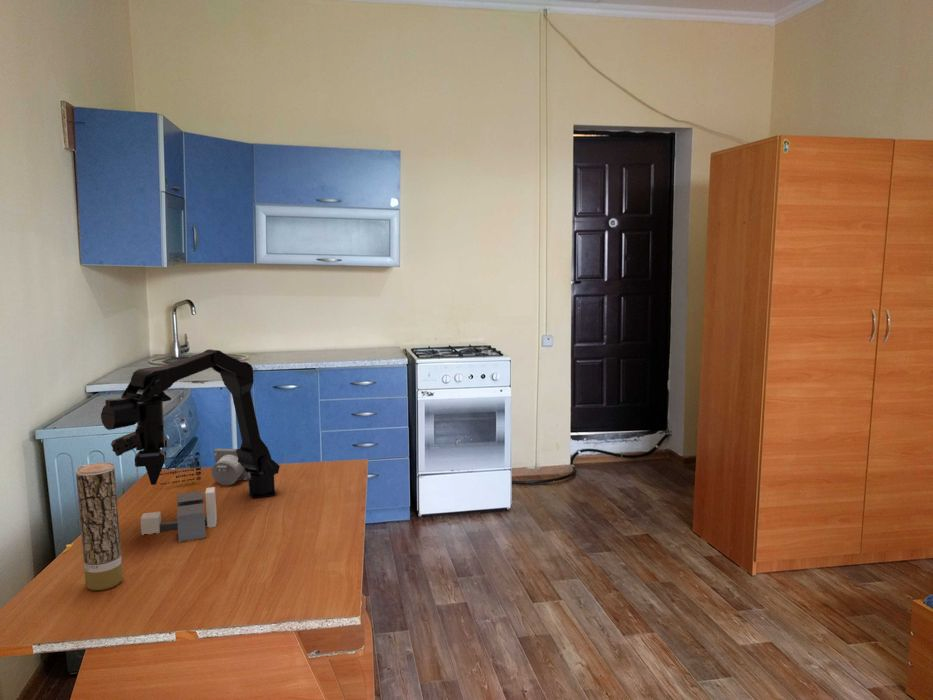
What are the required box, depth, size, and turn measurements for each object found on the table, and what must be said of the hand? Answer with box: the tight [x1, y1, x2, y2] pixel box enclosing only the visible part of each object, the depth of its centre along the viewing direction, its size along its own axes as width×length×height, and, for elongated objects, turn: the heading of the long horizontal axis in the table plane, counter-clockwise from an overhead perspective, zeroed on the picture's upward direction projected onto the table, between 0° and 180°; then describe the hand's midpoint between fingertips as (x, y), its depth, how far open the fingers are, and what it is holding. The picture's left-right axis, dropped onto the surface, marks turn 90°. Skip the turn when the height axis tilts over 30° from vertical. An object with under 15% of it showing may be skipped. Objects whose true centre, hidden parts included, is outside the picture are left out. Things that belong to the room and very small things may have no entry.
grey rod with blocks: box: [140, 486, 218, 536], centre depth 165 cm, size 17×4×9 cm, turn 107°
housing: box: [176, 490, 207, 542], centre depth 166 cm, size 6×16×6 cm, turn 23°
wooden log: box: [75, 462, 124, 591], centre depth 136 cm, size 7×7×25 cm
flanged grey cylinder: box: [159, 447, 250, 486], centre depth 196 cm, size 27×11×10 cm, turn 119°
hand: (153, 484), depth 161 cm, fingers closed
